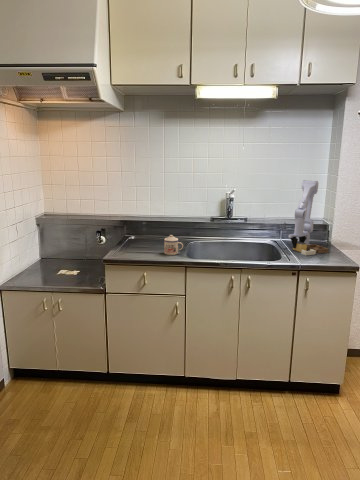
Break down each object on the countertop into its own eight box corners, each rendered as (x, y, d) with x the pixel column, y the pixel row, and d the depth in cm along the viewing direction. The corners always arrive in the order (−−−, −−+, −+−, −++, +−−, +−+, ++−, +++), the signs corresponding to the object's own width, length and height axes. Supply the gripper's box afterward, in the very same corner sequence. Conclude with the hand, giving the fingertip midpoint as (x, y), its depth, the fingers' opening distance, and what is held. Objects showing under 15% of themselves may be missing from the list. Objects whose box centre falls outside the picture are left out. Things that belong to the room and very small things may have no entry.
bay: (301, 253, 231) (301, 249, 231) (310, 252, 234) (311, 248, 234) (305, 255, 228) (306, 251, 227) (315, 254, 230) (315, 250, 230)
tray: (304, 248, 244) (304, 245, 243) (315, 247, 247) (315, 244, 246) (317, 253, 232) (317, 250, 232) (328, 252, 236) (329, 248, 235)
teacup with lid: (162, 254, 225) (162, 236, 222) (165, 251, 234) (165, 233, 231) (181, 255, 223) (182, 237, 221) (183, 251, 232) (184, 234, 229)
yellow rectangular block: (291, 248, 242) (292, 241, 241) (297, 248, 244) (298, 240, 242) (300, 252, 234) (301, 244, 233) (306, 251, 236) (307, 243, 234)
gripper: (294, 229, 231) (292, 250, 234) (312, 227, 236) (310, 248, 239) (287, 227, 237) (285, 247, 240) (305, 225, 242) (303, 245, 245)
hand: (297, 247), depth 240 cm, fingers closed on yellow rectangular block, 4 cm apart
